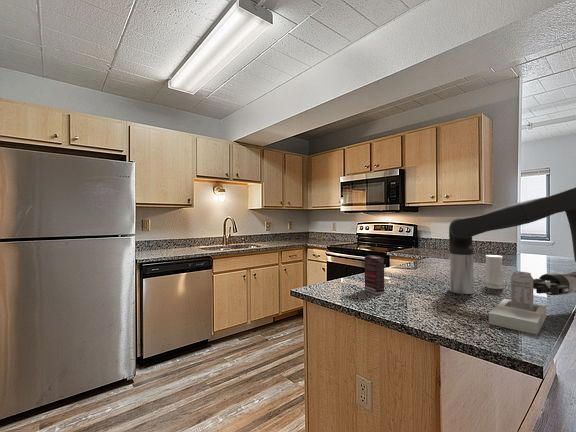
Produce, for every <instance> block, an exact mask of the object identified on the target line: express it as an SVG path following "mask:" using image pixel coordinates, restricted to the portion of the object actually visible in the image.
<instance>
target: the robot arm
mask: <svg viewBox="0 0 576 432" xmlns="http://www.w3.org/2000/svg"><path fill="white" fill-rule="evenodd" d="M564 212H565V216H566V218H567V221H568V226H569V228H570V234H571V241H572V249H573V250H572V251H573V257H574V261H575V263H576V186H574V187H571V188H568V189H565V190H563V191H560V192H558V193H555V194H551V195H548V196H543V197H537V198H533V199H529V200H524V201H519V202H516V203H513V204H512V203H511V204H509V205H505V206H501V207H499V208H497V209H495V210H492V211H489V212H487V213H484V214H481V215H476V216H471V217H462V218H461V217H459V218H458V217H457V218H454V219H453V220H452V221H451V222H450V224H449V226H448V245H449V270H448V271H449V272H448V273H449V275H448V277H449V281H448V283H449V285H448V286H449V287H448V289H449V291H450V293H454V294H458V295H459V294H461V295H472V294H474V290H475V289H474V282H475V281H474V247H473V246H474V245H473V237H475V236H478V235H480V234H484V233H487V232H491V231H497V230H505V229H510V228H513V227H519V226H522V225H523V226H524V225H528V224H530V223H534V222H537V221H539V220H542V219H545V218H547V217H549V216H552V215H555V214H559V213H564ZM533 290H535V293H536V294H539V295H540V294H546V295H548V296H561V295H568V294H572V293H576V270H575V271H571V272H555V273H543V274H542V275H540V276H539V278H537V277H536V278H533Z"/></svg>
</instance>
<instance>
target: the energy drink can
mask: <svg viewBox="0 0 576 432" xmlns="http://www.w3.org/2000/svg"><path fill="white" fill-rule="evenodd" d="M533 279H534V277H533V276H532V273H530V272H529V271H528V272H527V271H519V270H518V271H516V270H515V271H513V272H512V274H511V276H510V300H511V307H512V308H517V309H523V310H528V311H533V304H534V289H533Z"/></svg>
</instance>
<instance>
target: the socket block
mask: <svg viewBox="0 0 576 432" xmlns="http://www.w3.org/2000/svg"><path fill="white" fill-rule="evenodd" d="M547 309H548V306H547V305H543V304H537V303H533V311H528V310H523V309H517V308H512V307H511V299H508V298H507V299H506V298H504V299H502V300H501V301H500V302H499V303H498V304H497V305H496V306H494V307H493V308H492V309H491V310H490V311H489V312H488V324H489V325H493V326H498V327H502V328H507V329H511V330H514V331H515V330H516V331H519V332H524V333H528V334H532V335H537V336H538V334H539V333H540V330H541V329H542V327H543V324H544V322H545V321H546V319H547V317H548V314H547V313H548V312H547V311H548V310H547Z"/></svg>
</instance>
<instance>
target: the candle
mask: <svg viewBox="0 0 576 432" xmlns="http://www.w3.org/2000/svg"><path fill="white" fill-rule="evenodd" d="M485 258H486V259H485V260H486V261H485V262H486V263H485V264H486V265H485V268H484V269H485V275H484V276H485V283H486V284H487V285H486V288H488V289H494V290H501V289H502V285H504V283H503V281H504V280H503V278H504V268H503V258H504V256H503V255H495V254H494V255H493V254H486V255H485Z"/></svg>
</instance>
